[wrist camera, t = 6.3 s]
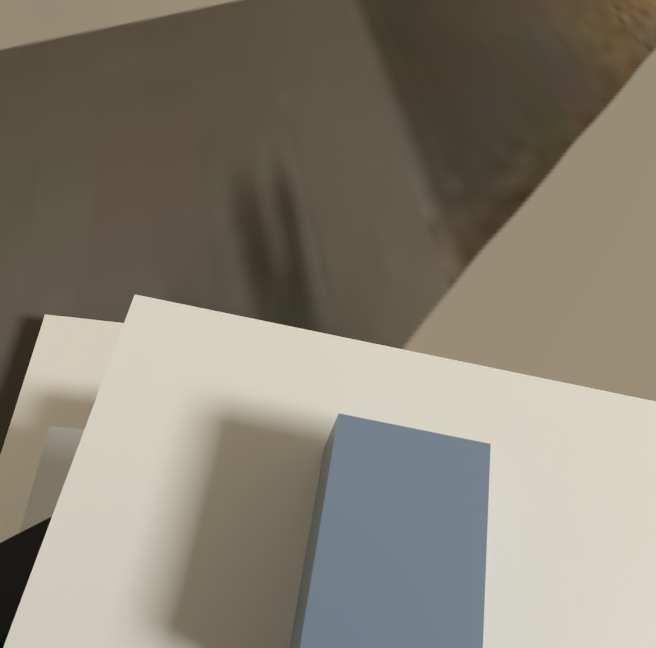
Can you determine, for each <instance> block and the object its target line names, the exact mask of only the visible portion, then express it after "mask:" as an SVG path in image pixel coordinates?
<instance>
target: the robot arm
mask: <svg viewBox="0 0 656 648" xmlns="http://www.w3.org/2000/svg"><path fill="white" fill-rule="evenodd" d="M51 518H52V516H51V517H49V518H47V519H46V520H44V521H42V522H40V523H38V524H36V525H34V526H32V527H30V528H28V529H26V530H24V531H22V532H20V533H18V534H16V535H14V536H12V537H10V538H8V539H6V540H5V541H3V542H1V543H0V648H3V647H4V644H5V641H6V639H7V636H8V633H9V631H10V628H11V625H12V623H13V620H14V617H15V615H16V612H17V609H18V606H19V604H20V601H21V598H22V596H23V593H24V590H25V588H26V585H27V582H28V580H29V577H30V574H31V572H32V569H33V566H34V564H35V561H36V558H37V555H38V553H39V550H40V547H41V545H42V542H43V539H44V537H45V534H46V531H47V529H48V526H49V523H50V521H51Z"/></svg>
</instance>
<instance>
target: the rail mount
mask: <svg viewBox="0 0 656 648" xmlns="http://www.w3.org/2000/svg"><path fill="white" fill-rule="evenodd" d="M123 325H124V323H118V322H109V321H100V320H91V319H82V318H73V317H64V316H54V315H45V316H44V319H43V322H42V325H41V328H40V332H39V335H38V338H37V341H36V344H35V347H34V351H33V354H32V357H31V360H30V363H29V366H28V369H27V373H26V376H25V379H24V382H23V385H22V388H21V391H20V395H19V398H18V401H17V404H16V407H15V410H14V413H13V417H12V420H11V423H10V426H9V429H8V432H7V435H6V439H5V442H4V445H3V448H2V451H1V454H0V543H1V542H3V541H5V540H6V539H8V538H10V537H12V536H14V535H16V534H18V533H20V532H22V531H24V530H26V529H28V528H30V527H32V526H34V525H36V524H38V523H40V522H42V521H44V520H46V519H47V518H49V517H51V516H52V515H53V513H54V510H55V507H56V504H57V502H58V499H59V496H60V494H61V491H62V488H63V486H64V483H65V480H66V478H67V475H68V472H69V470H70V467H71V464H72V462H73V459H74V456H75V453H76V451H77V448H78V445H79V443H80V440H81V437H82V435H83V432H84V429H85V427H86V424H87V421H88V419H89V416H90V413H91V411H92V408H93V405H94V402H95V400H96V397H97V394H98V392H99V389H100V386H101V384H102V381H103V378H104V376H105V373H106V370H107V368H108V365H109V362H110V360H111V357H112V354H113V351H114V349H115V346H116V343H117V341H118V338H119V335H120V333H121V330H122V327H123Z"/></svg>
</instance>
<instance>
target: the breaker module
mask: <svg viewBox="0 0 656 648" xmlns="http://www.w3.org/2000/svg"><path fill="white" fill-rule="evenodd" d="M3 648H656V402H655V401H651V400H646V399H641V398H636V397H631V396H626V395H621V394H617V393H612V392H607V391H602V390H597V389H592V388H587V387H583V386H577V385H573V384H568V383H563V382H558V381H553V380H548V379H544V378H539V377H534V376H529V375H524V374H519V373H514V372H509V371H504V370H500V369H495V368H490V367H485V366H480V365H476V364H471V363H466V362H461V361H456V360H451V359H446V358H441V357H436V356H432V355H426V354H422V353H417V352H412V351H407V350H403V349H398V348H393V347H388V346H383V345H378V344H373V343H368V342H364V341H359V340H354V339H349V338H344V337H339V336H334V335H330V334H325V333H320V332H315V331H310V330H305V329H300V328H295V327H291V326H286V325H281V324H276V323H271V322H266V321H261V320H257V319H252V318H247V317H242V316H237V315H232V314H227V313H222V312H218V311H213V310H208V309H203V308H198V307H193V306H188V305H184V304H179V303H174V302H169V301H164V300H159V299H154V298H150V297H145V296H140V295H134V298H133V300H132V303H131V306H130V309H129V311H128V314H127V317H126V319H125V322H124V325H123V327H122V330H121V333H120V335H119V338H118V341H117V343H116V346H115V349H114V351H113V354H112V357H111V360H110V362H109V365H108V368H107V370H106V373H105V376H104V378H103V381H102V384H101V386H100V389H99V392H98V394H97V397H96V400H95V402H94V405H93V408H92V411H91V413H90V416H89V419H88V421H87V424H86V427H85V429H84V432H83V435H82V437H81V440H80V443H79V445H78V448H77V451H76V453H75V456H74V459H73V462H72V464H71V467H70V470H69V472H68V475H67V478H66V480H65V483H64V486H63V488H62V491H61V494H60V496H59V499H58V502H57V504H56V507H55V510H54V513H53V515H52V518H51V521H50V523H49V526H48V529H47V531H46V534H45V537H44V539H43V542H42V545H41V547H40V550H39V553H38V555H37V558H36V561H35V564H34V566H33V569H32V572H31V574H30V577H29V580H28V582H27V585H26V588H25V590H24V593H23V596H22V598H21V601H20V604H19V606H18V609H17V612H16V615H15V617H14V620H13V623H12V625H11V628H10V631H9V633H8V636H7V639H6V641H5V644H4V647H3Z"/></svg>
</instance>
